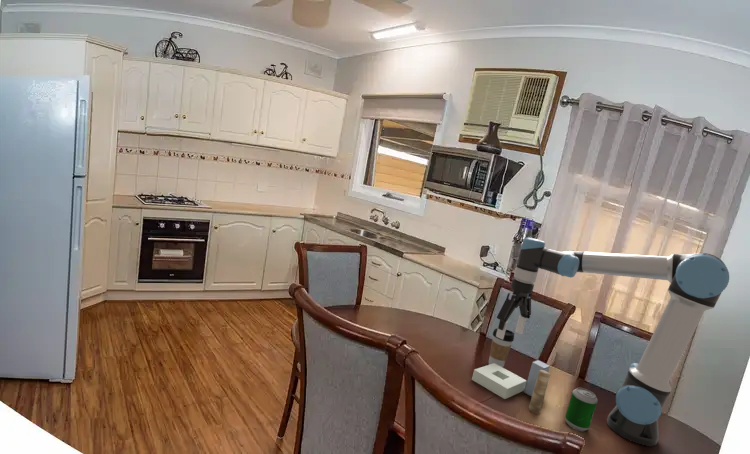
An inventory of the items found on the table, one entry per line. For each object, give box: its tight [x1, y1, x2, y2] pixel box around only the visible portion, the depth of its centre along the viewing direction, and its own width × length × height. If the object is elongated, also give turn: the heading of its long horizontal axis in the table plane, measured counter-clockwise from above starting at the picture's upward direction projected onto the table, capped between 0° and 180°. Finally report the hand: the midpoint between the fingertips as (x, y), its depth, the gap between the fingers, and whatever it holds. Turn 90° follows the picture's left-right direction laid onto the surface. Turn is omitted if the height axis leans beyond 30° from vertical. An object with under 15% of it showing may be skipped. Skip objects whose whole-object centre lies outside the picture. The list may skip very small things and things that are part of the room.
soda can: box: [564, 387, 599, 432], centre depth 143 cm, size 8×8×12 cm
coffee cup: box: [488, 327, 515, 368], centre depth 177 cm, size 8×8×15 cm
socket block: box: [471, 363, 528, 400], centre depth 161 cm, size 14×14×4 cm
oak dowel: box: [528, 370, 551, 415], centre depth 147 cm, size 4×4×14 cm
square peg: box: [523, 359, 551, 398], centre depth 159 cm, size 5×5×12 cm
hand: (509, 335), depth 159 cm, fingers open, 13 cm apart
